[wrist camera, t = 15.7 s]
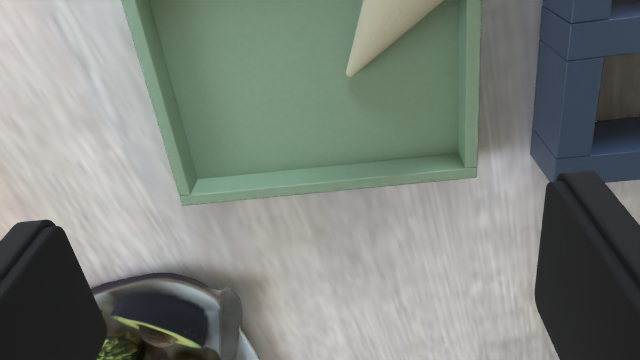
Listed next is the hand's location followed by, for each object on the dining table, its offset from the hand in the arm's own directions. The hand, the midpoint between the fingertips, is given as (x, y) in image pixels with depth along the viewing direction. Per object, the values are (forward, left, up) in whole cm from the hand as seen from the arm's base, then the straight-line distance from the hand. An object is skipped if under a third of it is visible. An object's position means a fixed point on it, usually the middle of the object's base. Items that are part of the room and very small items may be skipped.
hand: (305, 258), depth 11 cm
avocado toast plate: (+27, -17, -25) cm, 41 cm away
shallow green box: (+3, -1, -25) cm, 25 cm away
